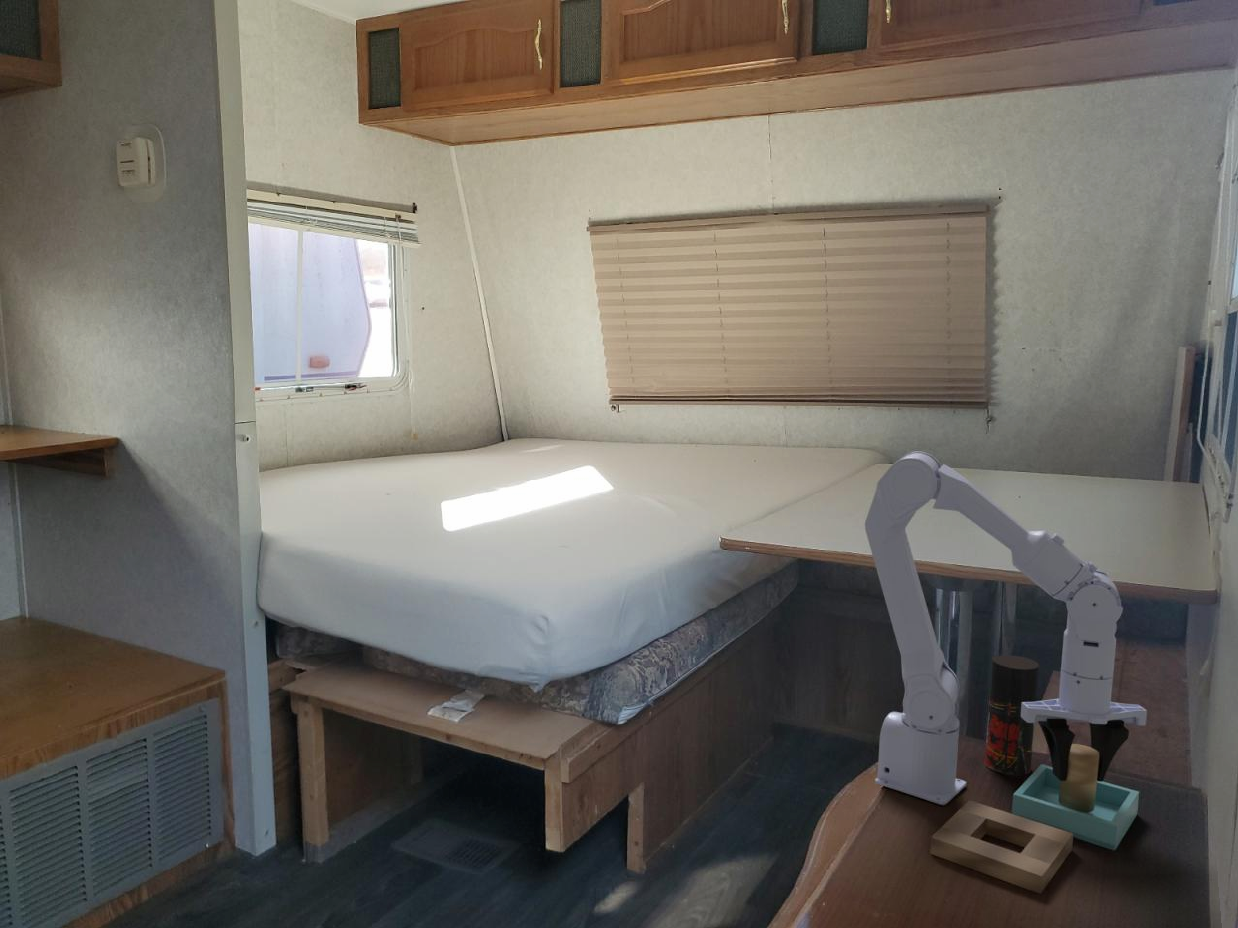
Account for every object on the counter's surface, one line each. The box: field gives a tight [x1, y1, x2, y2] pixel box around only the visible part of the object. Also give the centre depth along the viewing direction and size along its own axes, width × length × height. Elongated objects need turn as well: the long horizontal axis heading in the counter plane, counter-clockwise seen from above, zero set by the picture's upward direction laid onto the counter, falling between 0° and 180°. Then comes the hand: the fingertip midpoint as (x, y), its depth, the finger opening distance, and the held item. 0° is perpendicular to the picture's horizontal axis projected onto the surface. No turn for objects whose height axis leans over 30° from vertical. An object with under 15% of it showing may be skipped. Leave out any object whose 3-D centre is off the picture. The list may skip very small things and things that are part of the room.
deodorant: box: [984, 654, 1040, 777], centre depth 130 cm, size 6×6×15 cm
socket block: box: [929, 800, 1074, 895], centre depth 108 cm, size 12×12×2 cm
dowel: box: [1059, 743, 1099, 813], centre depth 116 cm, size 4×4×7 cm
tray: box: [1011, 763, 1140, 852], centre depth 117 cm, size 12×12×3 cm
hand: (1077, 777), depth 116 cm, fingers closed on dowel, 4 cm apart
